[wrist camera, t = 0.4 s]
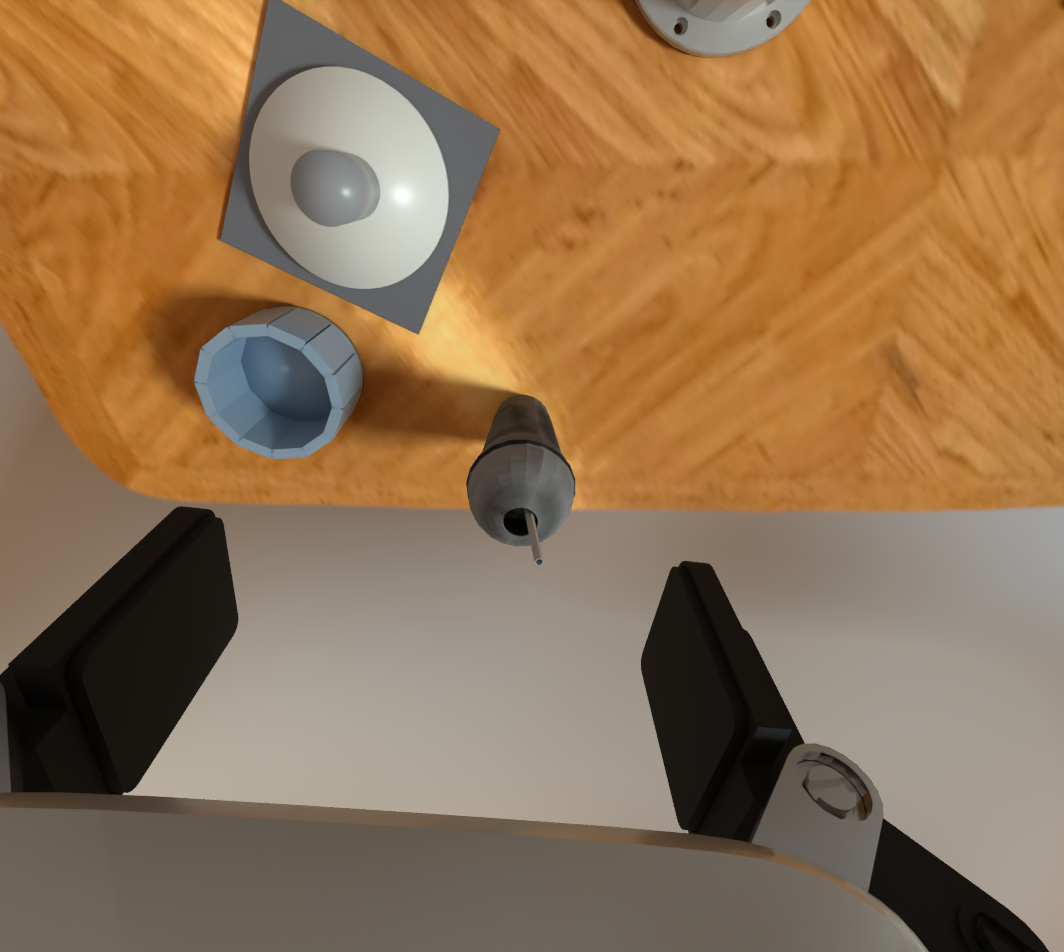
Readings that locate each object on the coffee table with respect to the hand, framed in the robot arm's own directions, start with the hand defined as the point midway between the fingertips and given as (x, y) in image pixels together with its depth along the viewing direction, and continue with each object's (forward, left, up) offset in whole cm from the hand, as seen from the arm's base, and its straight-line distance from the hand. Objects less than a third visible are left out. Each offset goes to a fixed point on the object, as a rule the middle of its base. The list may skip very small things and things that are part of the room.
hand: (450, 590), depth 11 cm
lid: (-2, -12, -33) cm, 35 cm away
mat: (-2, -12, -33) cm, 36 cm away
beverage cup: (+9, +6, -34) cm, 35 cm away
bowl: (+13, -12, -33) cm, 38 cm away
